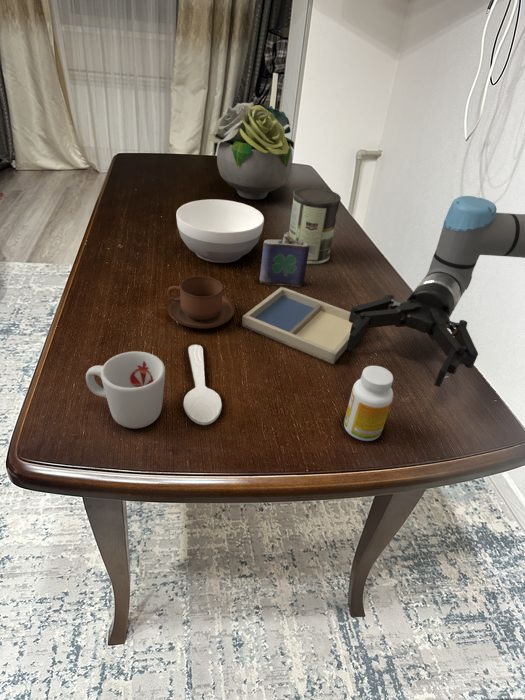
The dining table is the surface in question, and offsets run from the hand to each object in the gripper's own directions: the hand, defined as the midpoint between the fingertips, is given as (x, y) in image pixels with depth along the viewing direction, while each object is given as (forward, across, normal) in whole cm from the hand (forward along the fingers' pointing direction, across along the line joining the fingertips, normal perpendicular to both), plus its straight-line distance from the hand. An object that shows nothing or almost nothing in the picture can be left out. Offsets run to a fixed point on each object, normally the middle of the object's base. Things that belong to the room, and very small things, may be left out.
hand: (393, 360), depth 71 cm
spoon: (+14, +24, -7) cm, 29 cm away
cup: (+25, +28, -7) cm, 38 cm away
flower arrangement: (-63, +63, -8) cm, 89 cm away
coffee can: (-38, +32, -7) cm, 50 cm away
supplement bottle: (+8, 0, -7) cm, 11 cm away
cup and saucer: (-1, +35, -7) cm, 36 cm away
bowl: (-25, +48, -7) cm, 54 cm away
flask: (-22, +30, -7) cm, 38 cm away
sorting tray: (-10, +18, -7) cm, 22 cm away
